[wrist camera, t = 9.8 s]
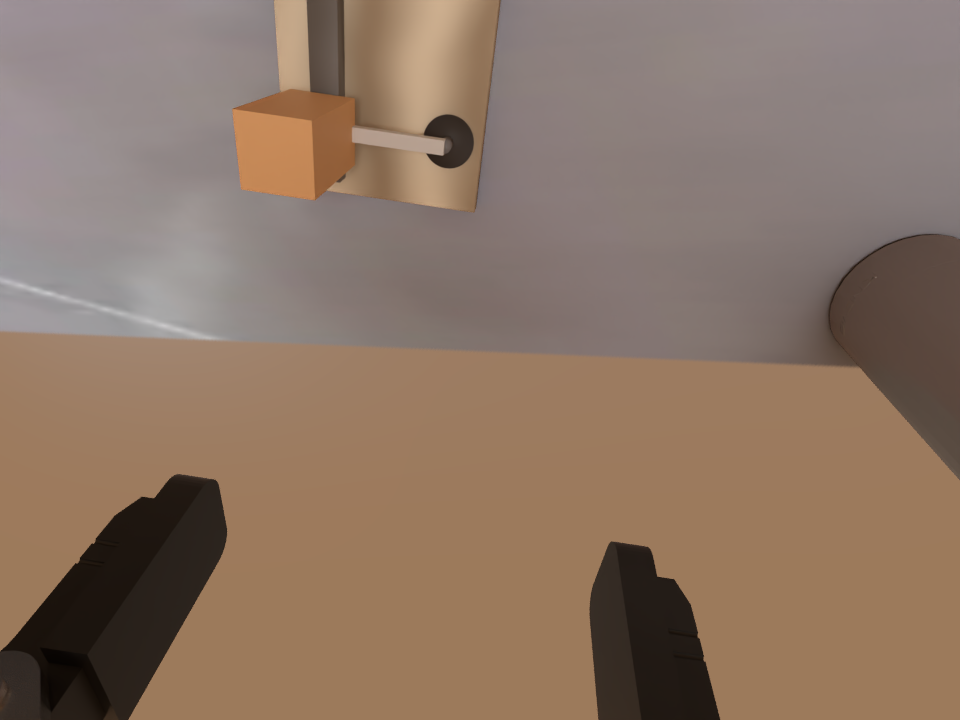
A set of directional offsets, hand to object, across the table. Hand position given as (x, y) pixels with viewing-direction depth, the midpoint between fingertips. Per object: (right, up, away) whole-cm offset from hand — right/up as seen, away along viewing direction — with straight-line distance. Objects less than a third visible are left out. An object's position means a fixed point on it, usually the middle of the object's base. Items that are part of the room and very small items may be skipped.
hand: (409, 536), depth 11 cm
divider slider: (-5, +17, +21) cm, 27 cm away
